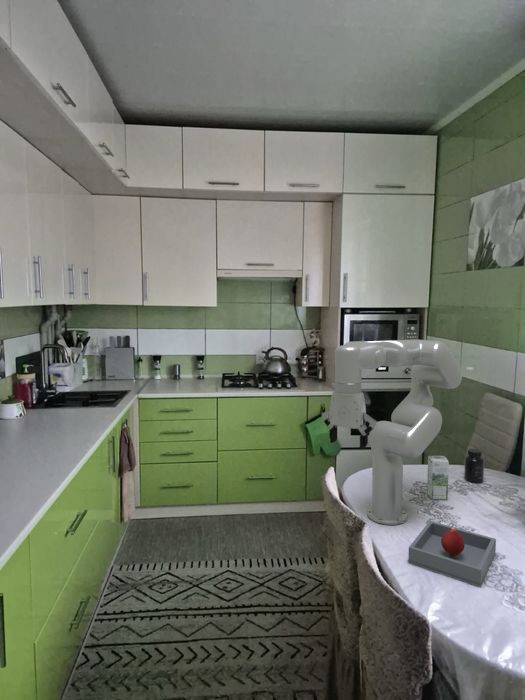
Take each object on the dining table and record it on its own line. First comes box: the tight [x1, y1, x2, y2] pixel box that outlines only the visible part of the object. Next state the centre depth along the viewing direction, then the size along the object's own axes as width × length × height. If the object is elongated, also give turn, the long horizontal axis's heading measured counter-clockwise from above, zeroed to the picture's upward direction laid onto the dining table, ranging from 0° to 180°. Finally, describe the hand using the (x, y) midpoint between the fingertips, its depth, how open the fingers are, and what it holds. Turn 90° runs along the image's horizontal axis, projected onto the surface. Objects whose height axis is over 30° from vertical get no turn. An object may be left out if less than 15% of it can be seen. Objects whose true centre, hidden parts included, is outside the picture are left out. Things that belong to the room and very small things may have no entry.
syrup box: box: [426, 455, 450, 501], centre depth 162 cm, size 6×6×14 cm
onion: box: [441, 527, 465, 556], centre depth 124 cm, size 6×6×8 cm
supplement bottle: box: [463, 448, 485, 484], centre depth 177 cm, size 7×7×12 cm
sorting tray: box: [407, 520, 497, 588], centre depth 125 cm, size 18×18×4 cm
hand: (348, 444), depth 135 cm, fingers open, 9 cm apart
